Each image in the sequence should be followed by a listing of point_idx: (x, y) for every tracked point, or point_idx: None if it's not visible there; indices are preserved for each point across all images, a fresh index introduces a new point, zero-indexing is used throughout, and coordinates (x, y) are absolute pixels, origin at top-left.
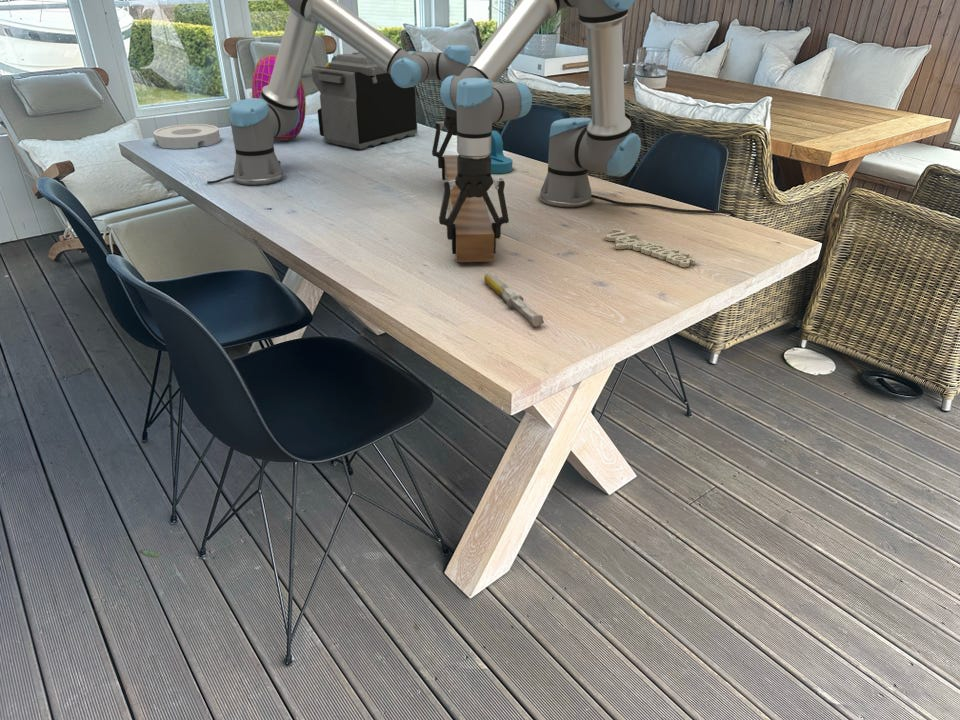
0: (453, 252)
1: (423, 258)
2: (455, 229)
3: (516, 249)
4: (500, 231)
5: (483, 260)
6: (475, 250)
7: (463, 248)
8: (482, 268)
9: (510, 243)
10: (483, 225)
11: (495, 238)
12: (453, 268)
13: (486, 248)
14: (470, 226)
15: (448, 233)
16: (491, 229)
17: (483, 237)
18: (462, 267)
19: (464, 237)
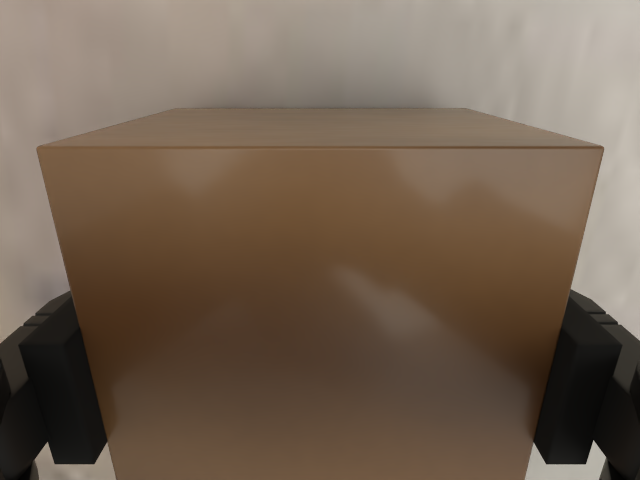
0: None
1: (637, 272)
2: (565, 329)
3: None
4: (16, 331)
5: (253, 110)
6: (318, 117)
7: (442, 119)
8: (268, 75)
9: None
10: (202, 434)
11: None
12: (479, 88)
13: (206, 120)
14: (357, 414)
15: (604, 326)
16: (94, 311)
17: (210, 138)
18: (411, 104)
19: (469, 138)
